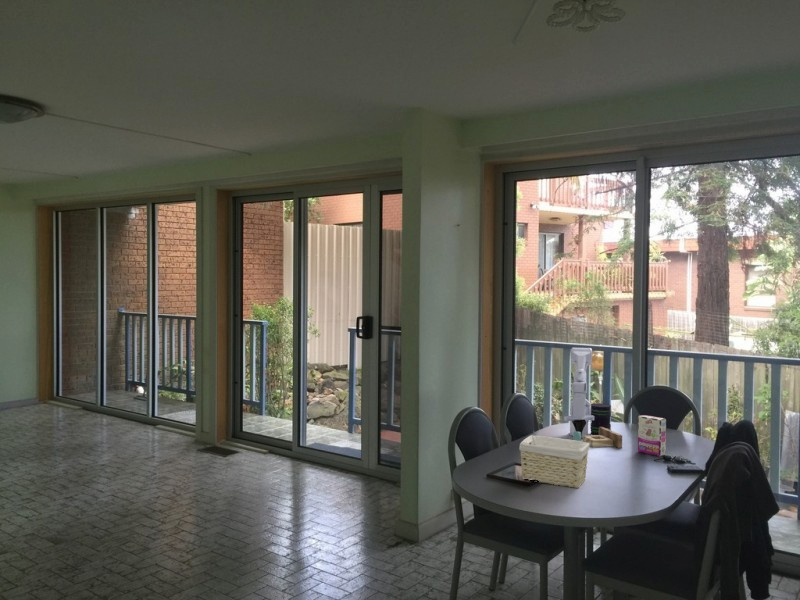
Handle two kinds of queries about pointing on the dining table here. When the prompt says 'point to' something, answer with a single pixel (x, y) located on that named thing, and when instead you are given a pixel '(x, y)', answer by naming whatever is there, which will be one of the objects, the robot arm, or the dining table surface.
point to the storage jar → (600, 417)
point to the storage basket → (554, 460)
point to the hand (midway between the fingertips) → (578, 435)
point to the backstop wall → (612, 436)
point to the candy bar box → (652, 435)
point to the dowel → (577, 436)
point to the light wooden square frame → (598, 440)
